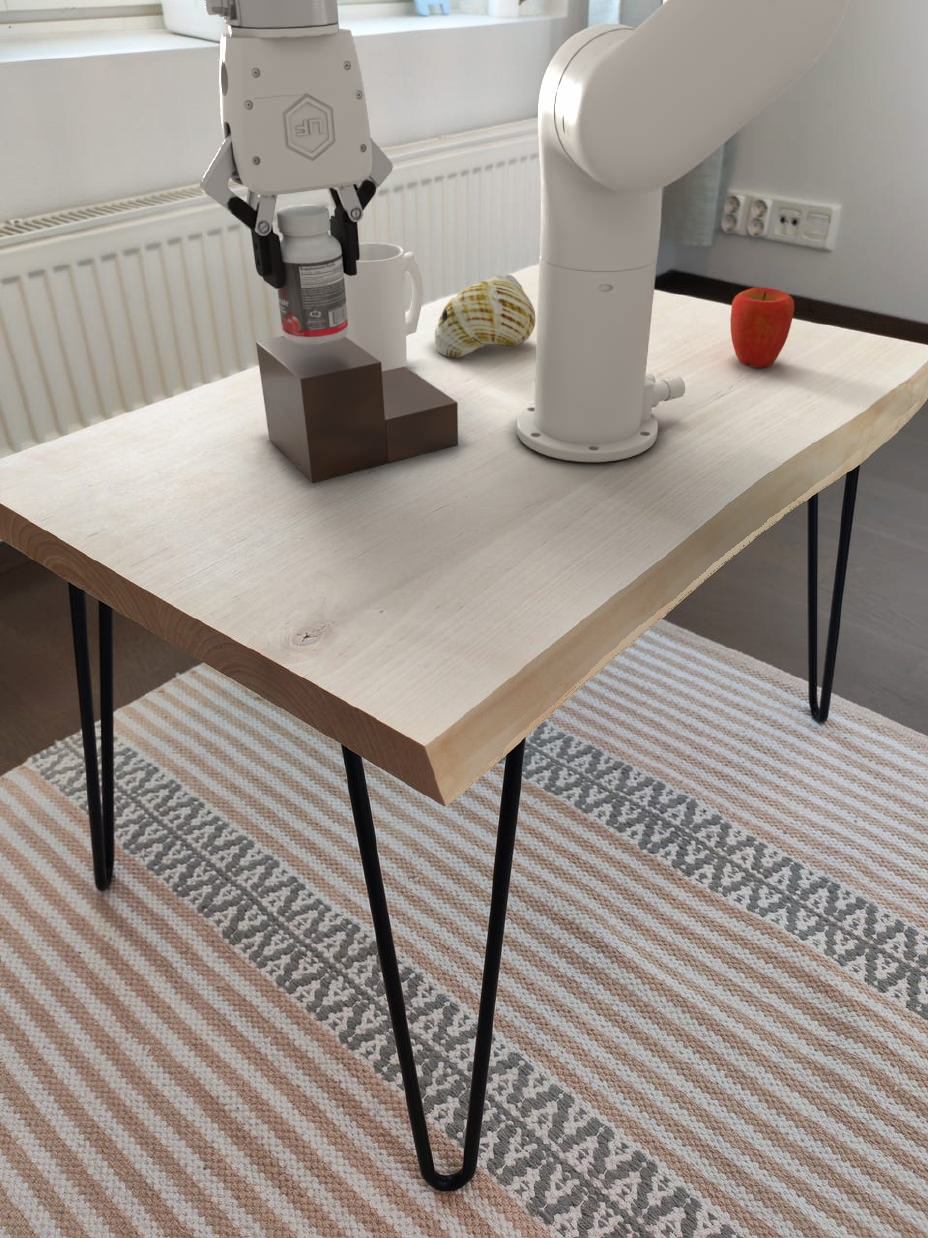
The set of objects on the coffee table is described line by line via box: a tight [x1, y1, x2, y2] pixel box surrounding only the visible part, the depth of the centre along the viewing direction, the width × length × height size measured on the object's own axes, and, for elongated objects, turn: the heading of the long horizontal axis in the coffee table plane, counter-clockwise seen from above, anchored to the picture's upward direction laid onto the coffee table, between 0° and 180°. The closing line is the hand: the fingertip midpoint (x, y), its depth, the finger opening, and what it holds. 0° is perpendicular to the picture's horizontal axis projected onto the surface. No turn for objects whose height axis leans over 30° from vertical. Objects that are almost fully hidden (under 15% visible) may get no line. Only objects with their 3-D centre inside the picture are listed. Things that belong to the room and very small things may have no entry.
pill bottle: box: [275, 203, 348, 345], centre depth 77 cm, size 5×5×10 cm
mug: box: [344, 242, 424, 371], centre depth 99 cm, size 10×7×12 cm, turn 134°
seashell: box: [434, 273, 536, 358], centre depth 105 cm, size 10×10×10 cm
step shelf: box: [255, 335, 459, 483], centre depth 85 cm, size 14×10×9 cm
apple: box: [729, 286, 795, 369], centre depth 100 cm, size 6×6×8 cm
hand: (309, 275), depth 77 cm, fingers closed on pill bottle, 5 cm apart
